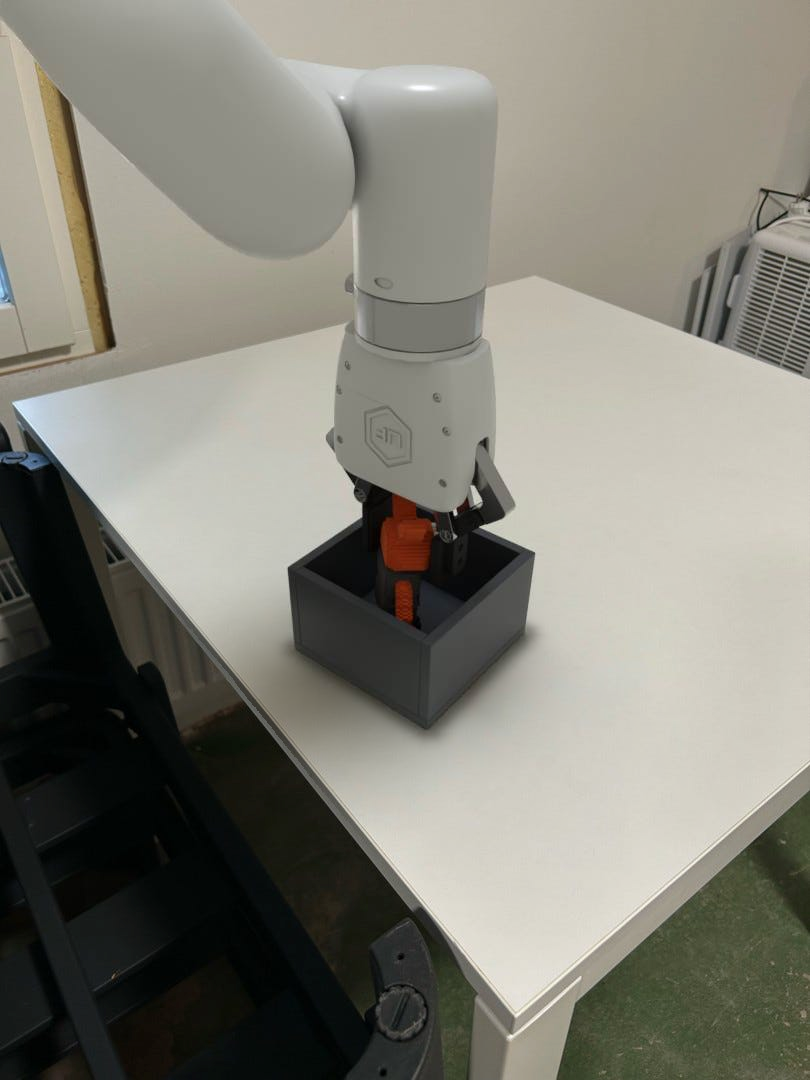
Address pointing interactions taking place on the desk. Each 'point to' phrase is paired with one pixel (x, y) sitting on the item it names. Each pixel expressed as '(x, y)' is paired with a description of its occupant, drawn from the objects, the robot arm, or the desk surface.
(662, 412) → the desk surface
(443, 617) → the bin
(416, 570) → the toy animal
